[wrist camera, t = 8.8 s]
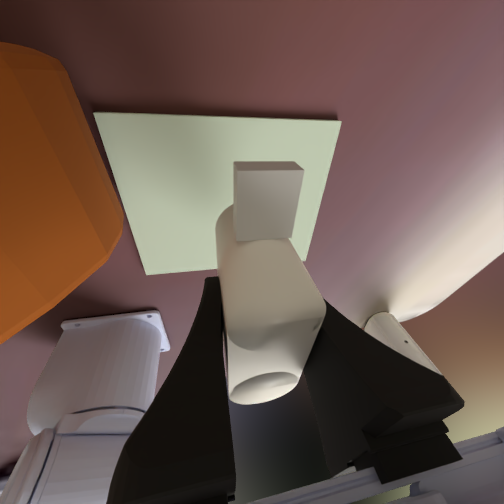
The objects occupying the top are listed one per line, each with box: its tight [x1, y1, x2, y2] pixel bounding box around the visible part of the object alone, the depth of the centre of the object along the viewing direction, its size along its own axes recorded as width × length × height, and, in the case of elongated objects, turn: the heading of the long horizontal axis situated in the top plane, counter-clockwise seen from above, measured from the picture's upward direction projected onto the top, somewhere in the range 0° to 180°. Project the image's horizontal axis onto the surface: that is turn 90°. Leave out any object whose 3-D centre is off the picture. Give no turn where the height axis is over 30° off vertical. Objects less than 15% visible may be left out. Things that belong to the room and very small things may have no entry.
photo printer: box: [364, 312, 443, 376], centre depth 33 cm, size 10×4×12 cm, turn 4°
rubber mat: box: [93, 112, 342, 275], centre depth 19 cm, size 16×13×1 cm
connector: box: [215, 161, 326, 404], centre depth 10 cm, size 3×11×6 cm, turn 177°
